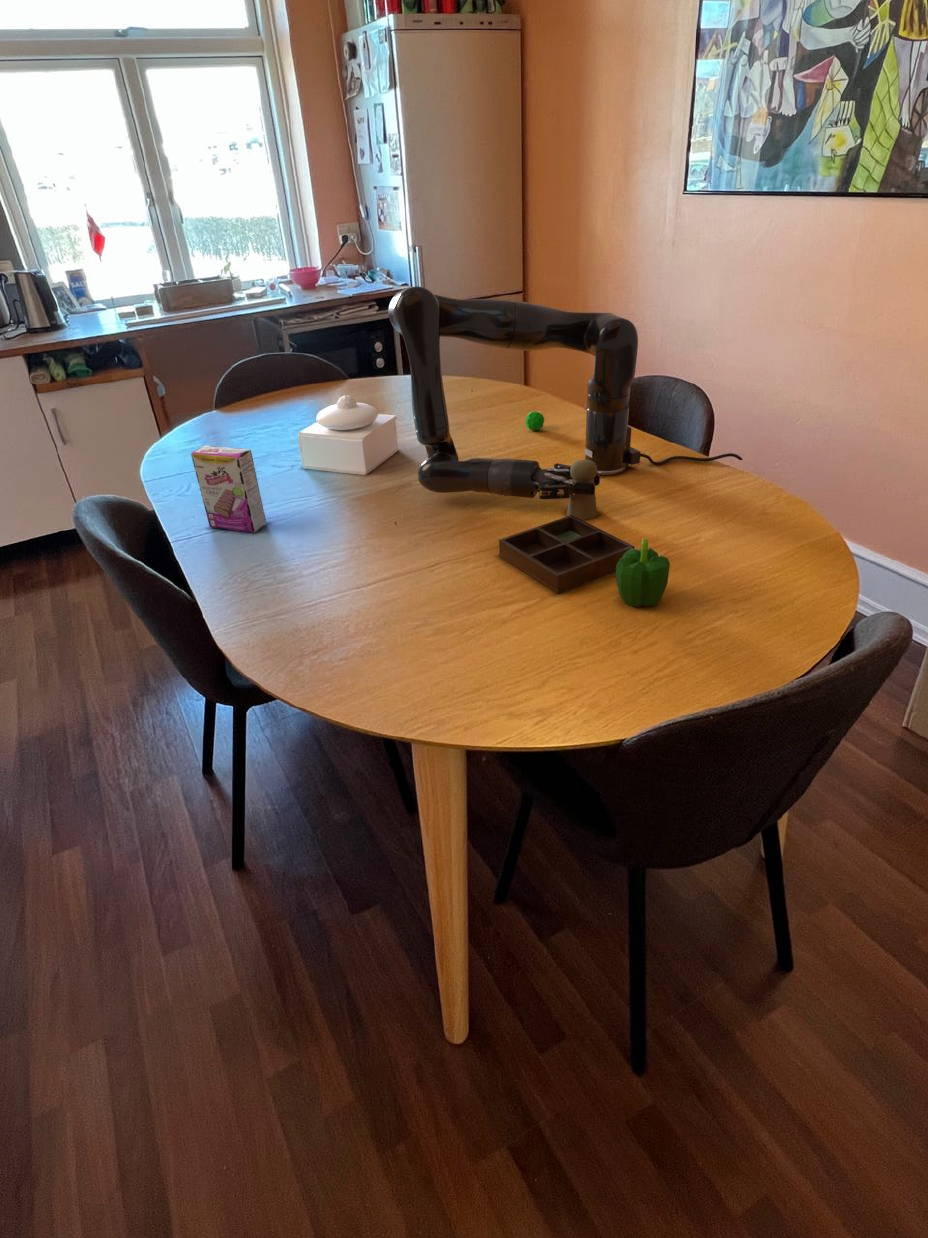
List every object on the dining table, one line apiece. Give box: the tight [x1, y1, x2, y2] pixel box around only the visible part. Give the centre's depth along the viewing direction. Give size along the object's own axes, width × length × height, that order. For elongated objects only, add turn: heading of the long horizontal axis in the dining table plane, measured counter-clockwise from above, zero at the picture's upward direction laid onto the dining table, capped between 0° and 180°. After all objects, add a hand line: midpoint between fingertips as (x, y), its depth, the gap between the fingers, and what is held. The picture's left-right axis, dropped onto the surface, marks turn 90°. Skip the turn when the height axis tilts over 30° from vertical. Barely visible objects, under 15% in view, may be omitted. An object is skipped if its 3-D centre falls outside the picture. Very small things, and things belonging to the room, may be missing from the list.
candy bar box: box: [190, 445, 267, 534], centre depth 150 cm, size 11×5×16 cm, turn 71°
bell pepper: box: [615, 538, 671, 608], centre depth 119 cm, size 8×8×10 cm
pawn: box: [566, 459, 598, 521], centre depth 148 cm, size 6×6×11 cm
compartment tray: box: [498, 515, 635, 595], centre depth 133 cm, size 17×17×4 cm
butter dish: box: [296, 394, 399, 476], centre depth 181 cm, size 18×18×16 cm
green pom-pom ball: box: [524, 410, 545, 432], centre depth 196 cm, size 5×5×5 cm
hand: (596, 484), depth 147 cm, fingers open, 4 cm apart
